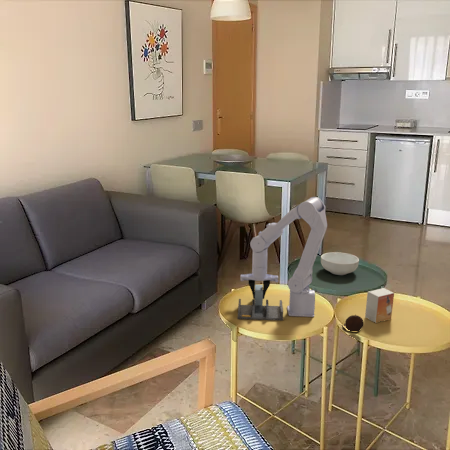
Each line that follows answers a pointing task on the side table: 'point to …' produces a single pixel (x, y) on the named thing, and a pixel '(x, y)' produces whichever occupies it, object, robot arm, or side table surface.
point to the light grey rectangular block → (259, 295)
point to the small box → (379, 305)
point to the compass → (354, 323)
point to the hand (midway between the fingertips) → (258, 297)
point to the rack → (260, 311)
